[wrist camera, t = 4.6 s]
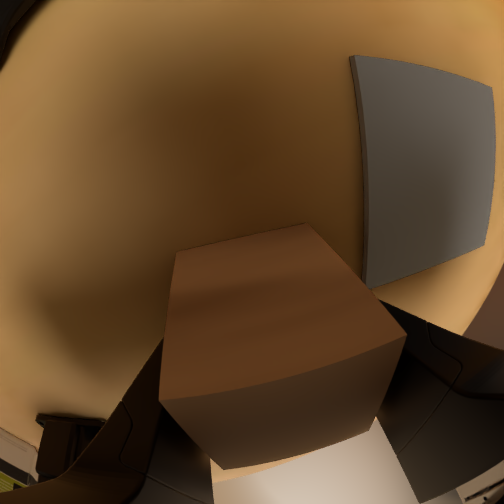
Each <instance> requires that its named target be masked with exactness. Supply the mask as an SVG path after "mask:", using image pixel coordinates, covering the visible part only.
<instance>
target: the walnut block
mask: <svg viewBox="0 0 504 504" xmlns="http://www.w3.org/2000/svg"><path fill="white" fill-rule="evenodd" d="M406 336H407V333H406V332H405V331H404V330H403V329H402V327H401V326H400V325H399V324H398V323H397V321H396V320H395V319H394V318H393V317H392V315H391V314H390V313H389V312H388V311H387V309H386V308H385V307H384V306H383V305H382V304H381V302H380V301H379V300H378V299H377V298H376V297H375V295H374V294H373V293H372V292H371V291H370V290H369V289H368V287H367V286H366V285H365V284H364V283H363V282H362V281H361V280H360V278H359V277H358V276H357V275H356V274H355V273H354V272H353V271H352V270H351V269H350V267H349V266H348V265H347V264H346V263H345V262H344V261H343V260H342V259H341V258H340V257H339V256H338V254H337V253H336V252H335V251H334V250H333V249H332V248H331V247H330V246H329V245H328V244H327V243H326V242H325V241H324V240H323V239H322V238H321V237H320V235H319V234H318V233H317V232H316V231H315V230H314V229H313V228H312V227H311V226H310V225H309V224H308V223H305V224H300V225H295V226H291V227H286V228H281V229H277V230H272V231H267V232H263V233H258V234H253V235H249V236H244V237H240V238H235V239H231V240H226V241H222V242H217V243H213V244H209V245H204V246H200V247H195V248H191V249H187V250H182V251H178V252H177V253H176V258H175V264H174V270H173V276H172V282H171V289H170V296H169V303H168V310H167V317H166V325H165V334H164V343H163V352H162V363H161V374H160V387H159V401H160V403H161V404H162V405H163V406H164V408H165V409H166V410H167V411H168V412H169V414H170V415H171V416H172V417H173V418H174V420H175V421H176V422H177V423H178V424H179V425H180V426H181V428H182V429H183V430H184V431H185V432H186V433H187V434H188V435H189V436H190V437H191V438H192V440H193V441H194V442H195V443H196V444H197V445H198V446H199V447H200V448H201V449H202V450H203V451H204V452H205V453H206V454H207V455H208V456H209V457H210V458H211V459H212V460H213V461H214V462H215V463H216V464H218V465H219V466H220V467H221V468H222V469H223V470H227V469H234V468H241V467H247V466H253V465H258V464H263V463H268V462H273V461H277V460H281V459H286V458H290V457H293V456H297V455H301V454H304V453H308V452H311V451H314V450H318V449H321V448H324V447H327V446H330V445H333V444H336V443H338V442H341V441H344V440H346V439H349V438H352V437H354V436H357V435H359V434H361V433H364V432H366V431H369V429H370V427H371V425H372V423H373V421H374V419H375V417H376V415H377V412H378V410H379V408H380V406H381V404H382V401H383V399H384V397H385V394H386V392H387V389H388V387H389V385H390V382H391V380H392V377H393V374H394V372H395V369H396V366H397V364H398V361H399V358H400V355H401V352H402V349H403V346H404V343H405V340H406Z"/></svg>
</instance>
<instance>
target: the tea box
mask: <svg viewBox="0 0 504 504" xmlns="http://www.w3.org/2000/svg"><path fill="white" fill-rule="evenodd" d="M37 456H38V454H37V452H36V449H35V447H34V446H32V445H30V444H28V443H26V442H24V441H22V440H21V439H19V438H17V437H15V436H13V435H12V434H10V433H8V432H7V431H5V430H3V429H2V428H0V492H6V491H11V490H13V484H14V483H16V484H18V485H20V486H22V487H28V486H32V485H35V484H37V481H38V473H36V470H35V467H36V461H37Z"/></svg>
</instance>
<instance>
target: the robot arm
mask: <svg viewBox="0 0 504 504" xmlns="http://www.w3.org/2000/svg"><path fill="white" fill-rule="evenodd" d="M378 300H379V299H378ZM379 301H380V302H381V304H382V305H383V306H384V307H385V308H386V309H387V311H388V312H389V313H390V314H391V315H392V317H393V318H394V319H395V320H396V321H397V323H398V324H399V325H400V326H401V327H402V329H403V330H404V331H405V332H406V333H407V336H406V340H405V343H404V346H403V349H402V352H401V355H400V358H399V361H398V364H397V366H396V369H395V372H394V374H393V377H392V380H391V382H390V385H389V387H388V389H387V392H386V394H385V397H384V399H383V401H382V404H381V406H380V408H379V410H378V412H377V415H376V417H377V419H378V421H379V422H380V425H381V427H382V428H383V430H384V432H385V434H386V436H387V438H388V440H389V442H390V444H391V446H392V448H393V450H394V452H395V454H396V455H397V458H398V460H399V462H400V464H401V467H402V468H403V471H404V472H405V475H406V477H407V479H408V481H409V483H410V485H411V487H412V489H413V491H414V493H415V495H416V498H417V500H418V502H419V503H420V504H421V503H423V502H426V501H428V500H431V499H433V498H436V497H438V496H440V495H443V494H445V493H447V492H449V491H451V490H453V489H455V488H456V490H457V492H458V494H459V496H460V498H461V500H462V502H463V504H504V350H502V349H498V348H495V347H492V346H489V345H486V344H484V343H481V342H478V341H475V340H472V339H469V338H466V337H464V336H461V335H458V334H456V333H453V332H451V331H448V330H446V329H444V328H441V327H439V326H437V325H434V324H432V323H430V322H427V321H425V320H423V319H421V318H419V317H417V316H414V315H412V314H410V313H408V312H406V311H403V310H401V309H399V308H397V307H395V306H392V305H390V304H388V303H386V302H383V301H381V300H379ZM163 343H164V337H163V339H162V340H161V342H160V343H159V344H158V346H157V347H156V349H155V350H154V352H153V353H152V355H151V356H150V358H149V359H148V361H147V362H146V364H145V365H144V366H143V368H142V369H141V371H140V372H139V374H138V375H137V377H136V378H135V380H134V381H133V383H132V384H131V386H130V387H129V389H128V390H127V392H126V393H125V395H124V396H123V398H122V401H120V402H119V404H118V405H117V407H116V408H115V410H114V411H113V413H112V414H111V416H110V417H109V419H108V420H107V422H106V423H105V422H103V421H99V420H80V419H67V418H57V417H49V416H41V415H37V416H36V420H35V421H36V422H37V423H38V424H39V425H40V426H42V427H43V428H44V430H43V434H42V438H41V442H40V447H39V451H38V456H37V461H36V467H35V470H36V473H38V481H37V484H35V485H32V486H28V487H22V486H20V485H18V484H16V483H14V484H13V490H11V491H6V492H0V504H214V499H213V489H212V478H211V465H210V457H209V456H208V455H207V454H206V453H205V452H204V451H203V450H202V449H201V448H200V447H199V446H198V445H197V444H196V443H195V442H194V441H193V440H192V438H191V437H190V436H189V435H188V434H187V433H186V432H185V431H184V430H183V429H182V428H181V426H180V425H179V424H178V423H177V422H176V421H175V420H174V418H173V417H172V416H171V415H170V414H169V412H168V411H167V410H166V409H165V408H164V406H163V405H162V404H161V403H160V401H159V387H160V374H161V363H162V352H163Z"/></svg>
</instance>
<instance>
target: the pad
mask: <svg viewBox="0 0 504 504" xmlns="http://www.w3.org/2000/svg"><path fill="white" fill-rule="evenodd" d="M349 58H350V63H351V68H352V74H353V80H354V86H355V93H356V100H357V107H358V116H359V125H360V135H361V147H362V161H363V181H364V250H363V271H362V282H363V283H364V284H365V285H366V286H367V287H368V289H372V288H375V287H378V286H381V285H384V284H387V283H390V282H393V281H395V280H398V279H401V278H404V277H407V276H409V275H412V274H415V273H418V272H420V271H423V270H426V269H428V268H431V267H433V266H436V265H438V264H441V263H444V262H446V261H448V260H451V259H453V258H456V257H458V256H461V255H463V254H465V253H468V252H470V251H472V250H475V249H477V248H479V247H481V246H484V244H485V239H486V234H487V229H488V223H489V217H490V211H491V204H492V196H493V186H494V174H495V151H496V135H495V113H494V101H493V92H492V87H489V86H487V85H484V84H482V83H479V82H476V81H474V80H471V79H468V78H465V77H462V76H459V75H456V74H452V73H449V72H445V71H442V70H438V69H434V68H430V67H426V66H422V65H417V64H412V63H407V62H402V61H397V60H390V59H384V58H377V57H368V56H359V55H353V56H350V57H349Z"/></svg>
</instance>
